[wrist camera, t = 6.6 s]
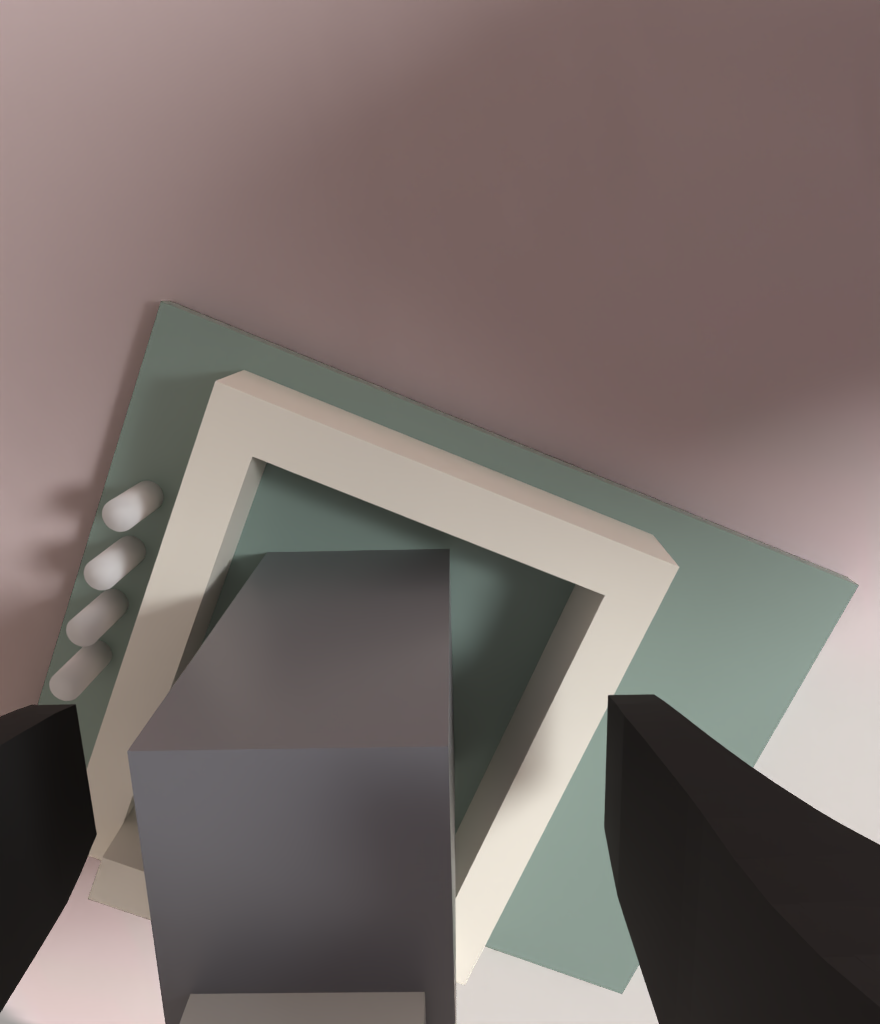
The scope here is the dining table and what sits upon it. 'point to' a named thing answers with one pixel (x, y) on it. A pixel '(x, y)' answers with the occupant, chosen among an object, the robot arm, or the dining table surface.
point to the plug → (308, 800)
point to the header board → (474, 613)
